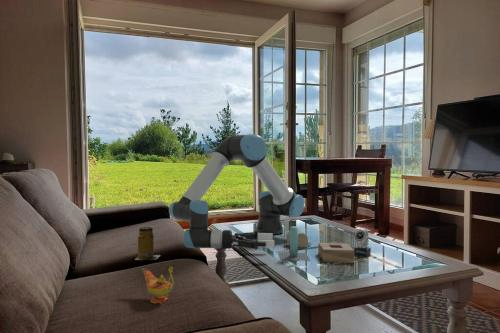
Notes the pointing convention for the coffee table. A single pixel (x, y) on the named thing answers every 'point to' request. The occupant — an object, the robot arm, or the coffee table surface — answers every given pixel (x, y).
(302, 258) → the mat
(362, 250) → the watch
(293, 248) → the dowel
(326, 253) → the socket block
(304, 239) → the ceramic mug
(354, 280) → the coffee table surface
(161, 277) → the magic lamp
